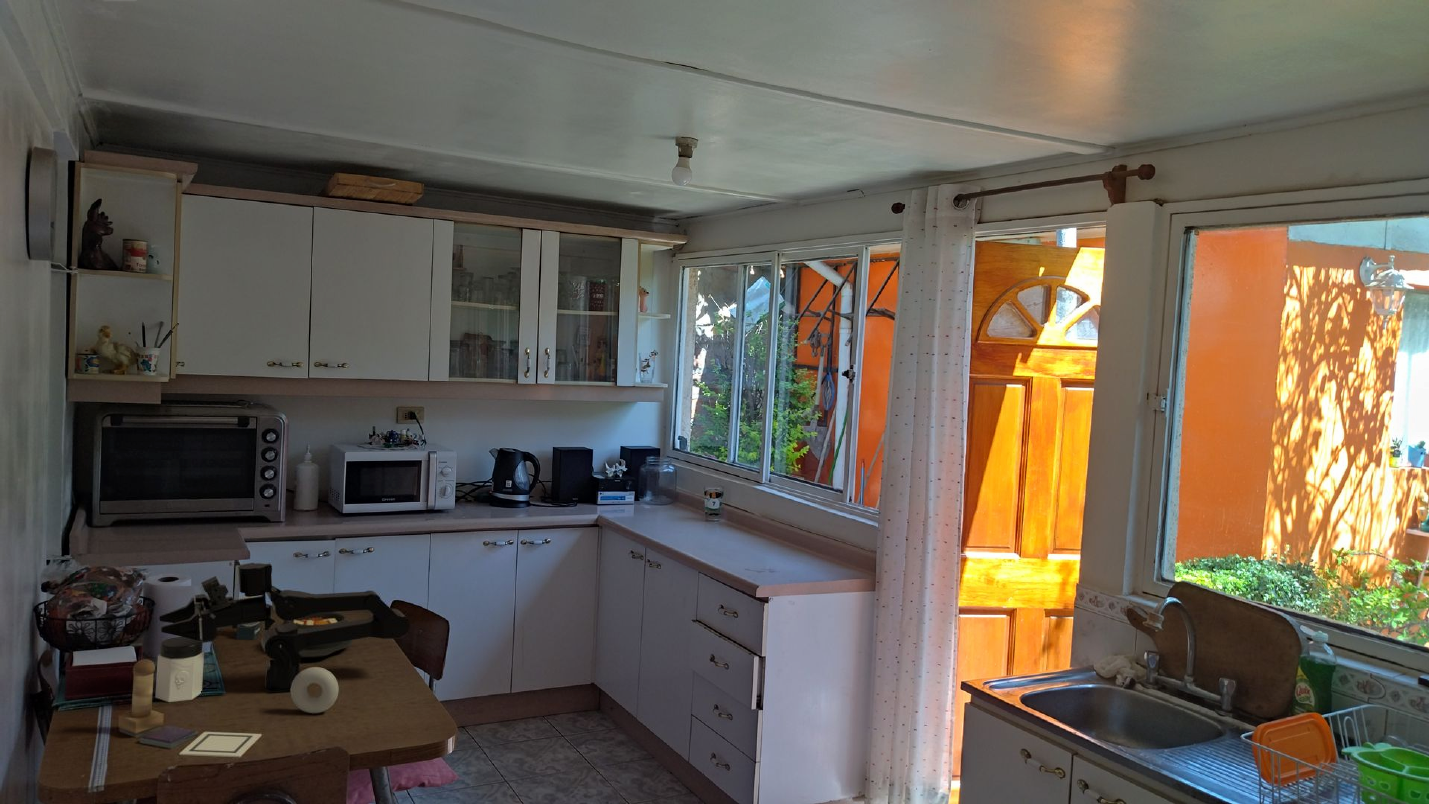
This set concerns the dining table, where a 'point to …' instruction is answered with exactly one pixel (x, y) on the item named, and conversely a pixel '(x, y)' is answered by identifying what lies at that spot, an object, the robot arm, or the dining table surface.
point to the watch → (248, 629)
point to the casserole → (317, 621)
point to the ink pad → (168, 737)
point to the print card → (220, 744)
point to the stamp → (141, 703)
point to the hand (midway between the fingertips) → (160, 624)
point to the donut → (309, 702)
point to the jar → (179, 669)
